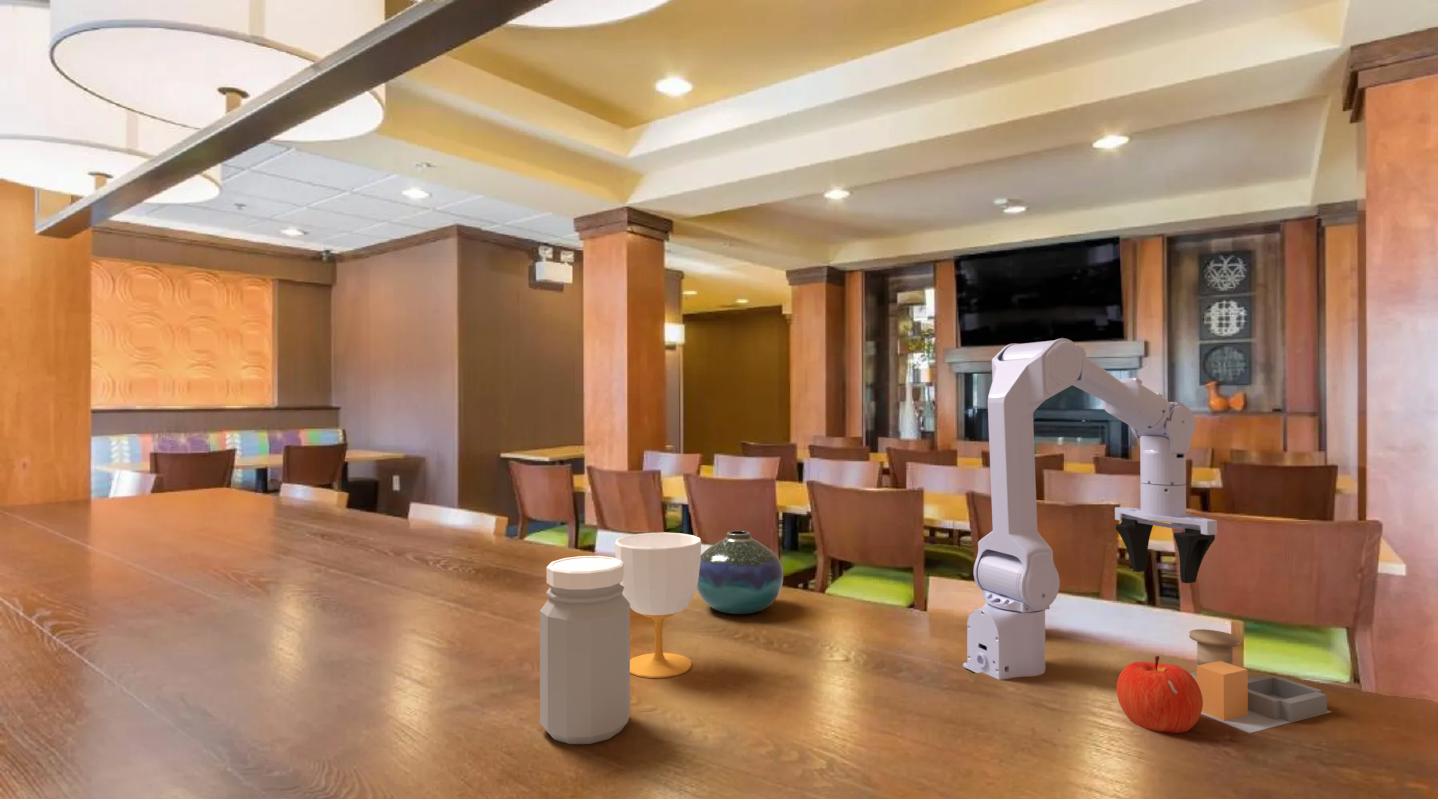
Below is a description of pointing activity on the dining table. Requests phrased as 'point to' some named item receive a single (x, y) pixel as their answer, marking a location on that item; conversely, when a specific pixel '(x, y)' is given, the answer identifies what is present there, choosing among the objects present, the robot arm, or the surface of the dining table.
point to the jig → (1277, 704)
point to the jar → (585, 650)
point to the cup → (659, 589)
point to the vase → (739, 575)
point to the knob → (1213, 646)
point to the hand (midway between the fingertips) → (1163, 576)
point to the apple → (1159, 696)
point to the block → (1223, 689)
